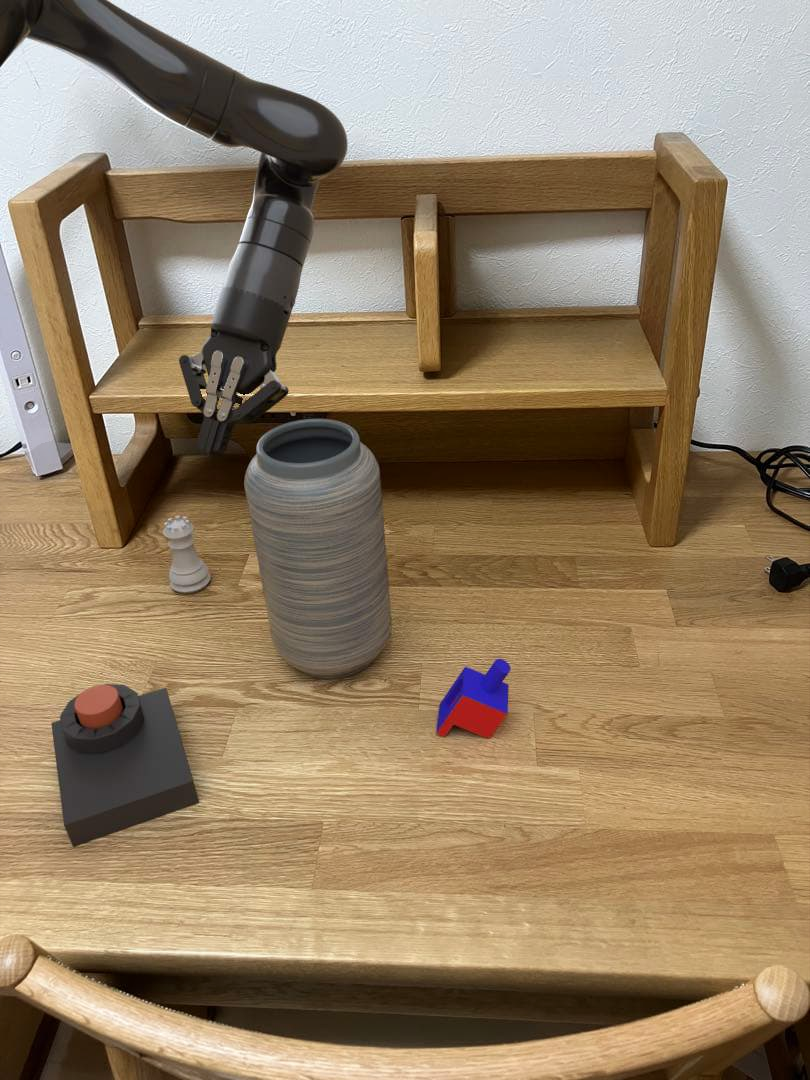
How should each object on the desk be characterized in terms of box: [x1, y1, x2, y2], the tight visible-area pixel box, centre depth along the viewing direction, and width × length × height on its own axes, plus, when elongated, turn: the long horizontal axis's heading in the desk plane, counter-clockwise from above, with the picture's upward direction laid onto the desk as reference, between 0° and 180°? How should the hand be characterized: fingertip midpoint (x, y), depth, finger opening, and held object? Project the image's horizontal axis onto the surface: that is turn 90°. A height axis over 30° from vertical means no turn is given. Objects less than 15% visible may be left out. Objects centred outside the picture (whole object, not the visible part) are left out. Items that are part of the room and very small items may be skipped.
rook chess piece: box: [162, 515, 212, 595], centre depth 96 cm, size 4×4×8 cm
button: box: [74, 684, 123, 729], centre depth 76 cm, size 4×4×2 cm
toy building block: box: [435, 658, 512, 740], centre depth 77 cm, size 4×4×8 cm
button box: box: [51, 683, 200, 848], centre depth 75 cm, size 13×10×4 cm
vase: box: [243, 418, 393, 680], centre depth 81 cm, size 12×12×23 cm
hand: (208, 455), depth 95 cm, fingers closed
